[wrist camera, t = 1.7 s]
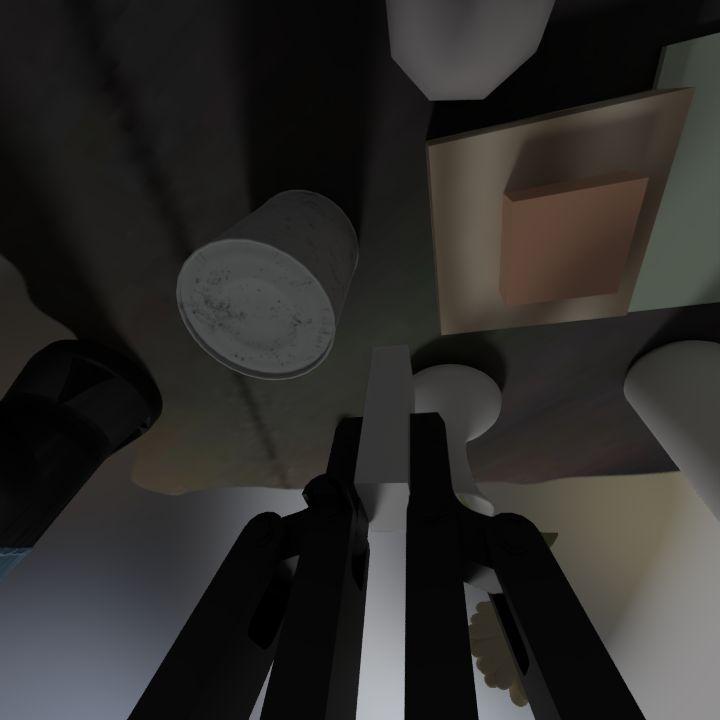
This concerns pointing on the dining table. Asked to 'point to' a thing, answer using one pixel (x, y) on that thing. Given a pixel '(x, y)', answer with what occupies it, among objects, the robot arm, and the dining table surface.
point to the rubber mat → (687, 189)
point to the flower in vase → (472, 493)
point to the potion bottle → (464, 42)
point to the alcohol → (683, 409)
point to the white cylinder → (272, 286)
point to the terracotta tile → (568, 237)
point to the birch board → (533, 169)
